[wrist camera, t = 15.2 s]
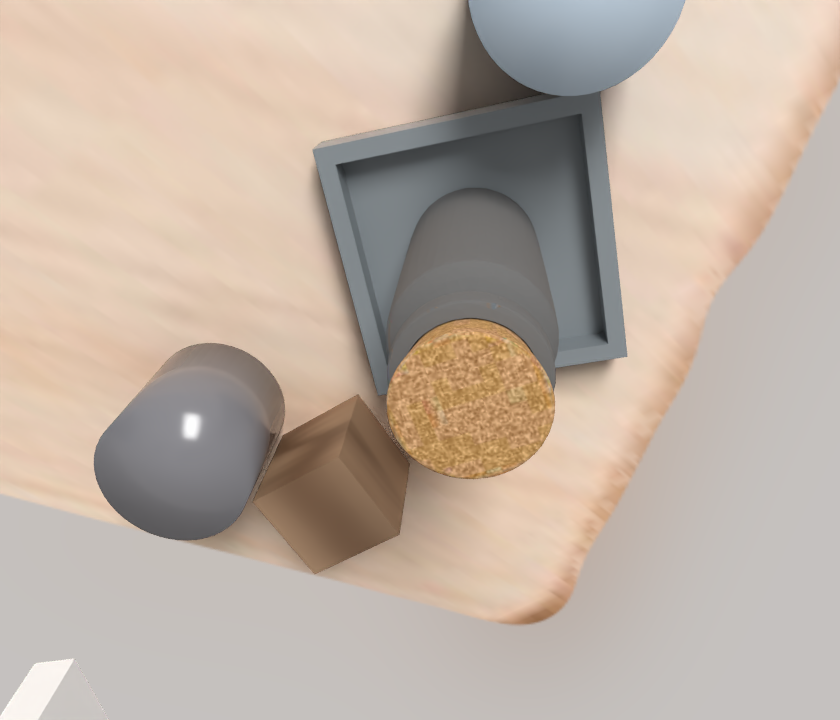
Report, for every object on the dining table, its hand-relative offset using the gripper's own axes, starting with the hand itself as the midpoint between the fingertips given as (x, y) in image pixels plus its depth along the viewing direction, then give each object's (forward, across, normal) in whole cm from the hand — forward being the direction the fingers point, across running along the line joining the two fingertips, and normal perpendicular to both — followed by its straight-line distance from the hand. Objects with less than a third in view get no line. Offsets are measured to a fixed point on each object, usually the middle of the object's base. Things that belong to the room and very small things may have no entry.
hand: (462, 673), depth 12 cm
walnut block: (+25, -8, -10) cm, 28 cm away
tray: (+25, 0, 0) cm, 25 cm away
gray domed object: (+25, -14, -6) cm, 29 cm away
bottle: (+24, 0, 0) cm, 24 cm away
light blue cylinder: (+25, +6, +10) cm, 27 cm away
